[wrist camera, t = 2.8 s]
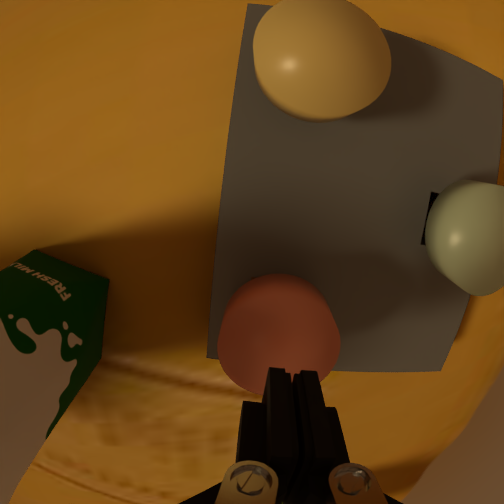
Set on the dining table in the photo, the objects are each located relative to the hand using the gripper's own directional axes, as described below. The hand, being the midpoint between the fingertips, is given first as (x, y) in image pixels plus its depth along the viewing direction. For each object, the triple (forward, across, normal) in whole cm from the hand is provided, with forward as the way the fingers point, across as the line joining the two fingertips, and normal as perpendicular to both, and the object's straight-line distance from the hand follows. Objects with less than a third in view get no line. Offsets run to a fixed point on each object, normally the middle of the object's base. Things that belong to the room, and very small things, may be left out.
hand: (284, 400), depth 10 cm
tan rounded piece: (+8, 0, -12) cm, 15 cm away
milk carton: (+10, +15, +4) cm, 19 cm away
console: (+10, -4, -6) cm, 13 cm away
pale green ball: (+8, -9, -6) cm, 13 cm away
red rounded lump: (+8, 0, 0) cm, 8 cm away
